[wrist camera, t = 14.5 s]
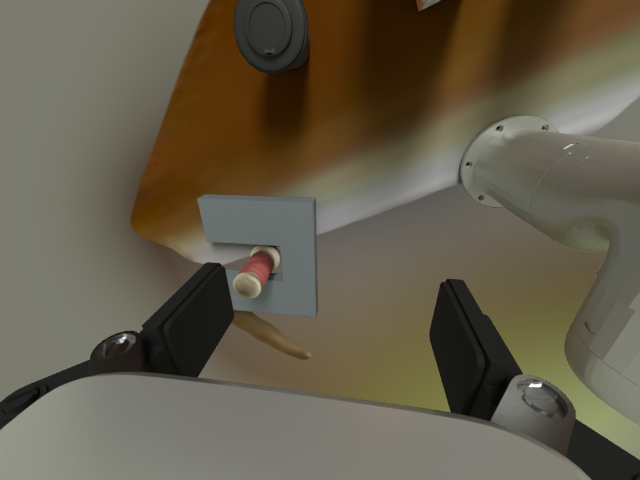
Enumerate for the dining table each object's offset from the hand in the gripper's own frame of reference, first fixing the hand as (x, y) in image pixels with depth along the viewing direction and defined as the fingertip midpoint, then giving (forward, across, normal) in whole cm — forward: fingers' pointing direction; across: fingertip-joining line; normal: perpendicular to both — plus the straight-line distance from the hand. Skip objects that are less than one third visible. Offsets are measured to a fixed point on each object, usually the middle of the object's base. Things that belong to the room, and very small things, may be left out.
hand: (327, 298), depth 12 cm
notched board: (+33, +16, +18) cm, 41 cm away
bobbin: (+33, +16, +18) cm, 41 cm away
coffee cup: (+34, +9, -15) cm, 38 cm away
